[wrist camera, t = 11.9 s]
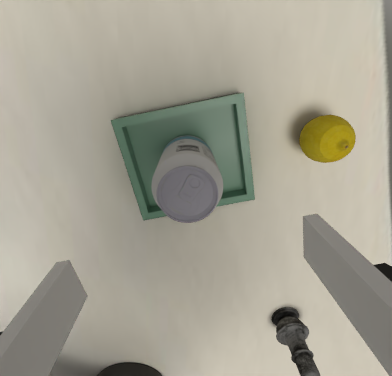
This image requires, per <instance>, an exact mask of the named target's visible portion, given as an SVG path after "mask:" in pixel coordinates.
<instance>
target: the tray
mask: <svg viewBox="0 0 392 376" xmlns="http://www.w3.org/2000/svg"><path fill="white" fill-rule="evenodd" d="M111 122H112V126H113V129H114V132H115V135H116V138H117V141H118V144H119V147H120V150H121V153H122V156H123V159H124V162H125V165H126V169H127V172H128V175H129V178H130V181H131V184H132V187H133V190H134V193H135V196H136V199H137V202H138V205H139V208H140V211H141V215H142V218H143V220H148V219H154V218H159V217H164V216H167V215H166V214H165V213H164V212H163V211H162V210H161V208H160V207H159V206H158V205H157V203H156V202H155V200H154V197H153V194H152V188H151V185H152V178H153V175H154V173H155V170H156V168H157V165H158V163H159V160H160V158H161V155H162V153H163V150H164V148H165V147H166V145H167V144H168V143H169V142H170V141H172V140H173V139H175V138H177V137H180V136H185V135H189V136H195V137H198V138H200V139H202V140H203V141H204V142H205V143H206V144H207V145H208V146H209V147H210V149H211V151H212V154H213V156H214V158H215V161H216V163H217V166H218V168H219V171H220V173H221V176H222V179H223V193H222V197H221V199H220V201H219V203H218V205H217V206H222V205H228V204H233V203H238V202H244V201H249V200H254V199H255V196H254V186H253V177H252V167H251V158H250V148H249V139H248V129H247V120H246V110H245V101H244V93H236V94H231V95H226V96H221V97H217V98H212V99H207V100H202V101H197V102H193V103H188V104H183V105H178V106H173V107H169V108H164V109H159V110H154V111H149V112H145V113H140V114H135V115H130V116H125V117H121V118H116V119H114V120H111ZM217 206H216V207H217Z"/></svg>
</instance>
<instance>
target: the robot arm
mask: <svg viewBox="0 0 392 376" xmlns="http://www.w3.org/2000/svg"><path fill="white" fill-rule="evenodd" d="M303 244H304V258H305V259H306V261H307V262H308V263H309V265H310V266H311V268H312V269H313V270H314V272H315V273H316V275H317V276H318V277H319V279H320V280H321V281H322V283H323V284H324V286H325V287H326V288H327V290H328V291H329V293H330V294H331V295H332V297H333V298H334V300H335V301H336V302H337V304H338V305H339V306H340V308H341V309H342V311H343V312H344V313H345V315H346V316H347V318H348V319H349V320H350V322H351V323H352V324H353V326H354V327H355V329H356V330H357V331H358V333H359V334H360V336H361V337H362V338H363V340H364V341H365V342H366V344H367V345H368V347H369V348H370V349H371V351H372V352H373V354H374V355H375V356H376V358H377V359H378V361H379V362H380V363H381V365H382V366H383V367H384V369H385V370H386V372H387V373H388V374H389V376H392V266H390V265H388V264H386V263H382V264H376V265H373V264H372V263H370V262H369V261H368V260H367V259H366V258H365V257H364V256H363V255H362V254H361V253H360V252H358V251H357V250H356V249H355V248H354V247H353V246H352V245H351V244H350V243H349V242H348V241H346V240H345V239H344V238H343V237H342V236H341V235H340V234H339V233H338V232H337V231H335V230H334V229H333V228H332V227H331V226H330V225H329V224H328V223H327V222H326V221H325V220H323V219H322V218H321V217H320V216H319V215H318V214H313V215H308V216H303ZM86 298H87V294H86V292H85V290H84V288H83V286H82V284H81V282H80V280H79V278H78V276H77V274H76V272H75V270H74V268H73V266H72V264H71V262H70V260H67V261H62V262H57V263H56V264H55V265H54V266H53V268H52V269H51V270H50V272H49V273H48V274H47V275H46V277H45V278H44V279H43V281H42V282H41V283H40V285H39V286H38V287H37V288H36V290H35V291H34V292H33V294H32V295H31V296H30V298H29V299H28V300H27V301H26V303H25V304H24V305H23V307H22V308H21V309H20V311H19V312H18V313H17V315H16V316H15V317H14V318H13V320H12V321H11V322H10V324H9V325H8V326H7V328H6V329H5V330H4V331H3V332H0V376H49V374H50V372H51V370H52V368H53V366H54V364H55V362H56V360H57V358H58V356H59V354H60V352H61V350H62V347H63V345H64V343H65V341H66V339H67V337H68V335H69V333H70V331H71V329H72V327H73V325H74V323H75V321H76V319H77V317H78V315H79V313H80V311H81V308H82V306H83V304H84V302H85V300H86ZM98 376H162V375H161V374H160V373H159V372H157V371H156V370H154V369H153V368H151V367H148V366H145V365H142V364H135V363H123V364H117V365H113V366H110V367H108V368H106V369H104V370H103V371H102V372H101V373H100V374H99V375H98Z"/></svg>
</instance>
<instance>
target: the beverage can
mask: <svg viewBox="0 0 392 376" xmlns="http://www.w3.org/2000/svg"><path fill="white" fill-rule="evenodd" d="M151 188H152V194H153V197H154V200H155V202H156V203H157V205H158V206H159V207H160V208H161V210H162V211H163V212H164V213H165V214H166V215H167V216H168V217H170V218H171V219H173V220H175V221H178V222H184V223H191V222H196V221H199V220H202V219H204V218H205V217H207V216H208V215H209V214H210V213H211V212H212V211H213V210H214V208H215V207H216V206H217V205H218V203H219V201H220V199H221V197H222V193H223V179H222V176H221V173H220V171H219V168H218V166H217V163H216V161H215V158H214V156H213V154H212V151H211V149H210V147H209V146H208V145H207V144H206V143H205V142H204V141H203V140H202V139H200V138H198V137H195V136H189V135H185V136H180V137H177V138H175V139H173V140H172V141H170V142H169V143H168V144H167V145H166V147H165V148H164V150H163V153H162V155H161V158H160V160H159V163H158V165H157V168H156V170H155V173H154V175H153V178H152V185H151Z"/></svg>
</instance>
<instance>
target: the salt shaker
mask: <svg viewBox="0 0 392 376" xmlns="http://www.w3.org/2000/svg"><path fill="white" fill-rule="evenodd" d="M298 317H299V314H298V312H297V310H296V309H294V308H291V307H285V308H281V309H278V310H277V311H276V312H274V314H273V315H272V322H273V324H275V325H276V326H277V328H276V332H277V335H276V337H277V340H278V342H280V343H281V344H283V345H288V347H289V349H290V351H291V354H292V357H291V358H292V361H293V362H294V363H296V365H297V368H298V370H299V373H300V375H301V376H320V373H319V371H318V369H317V367H316V365H315V363H314V360H313V353H312V352H311V351H310V350H309V349H308V347H307V344H306V342H305V339H306V338H307V337H308V334H309V330H308V328H307V326H305V325H304V324H303V323H302V322H301V321H300V320H299V319H298Z"/></svg>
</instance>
